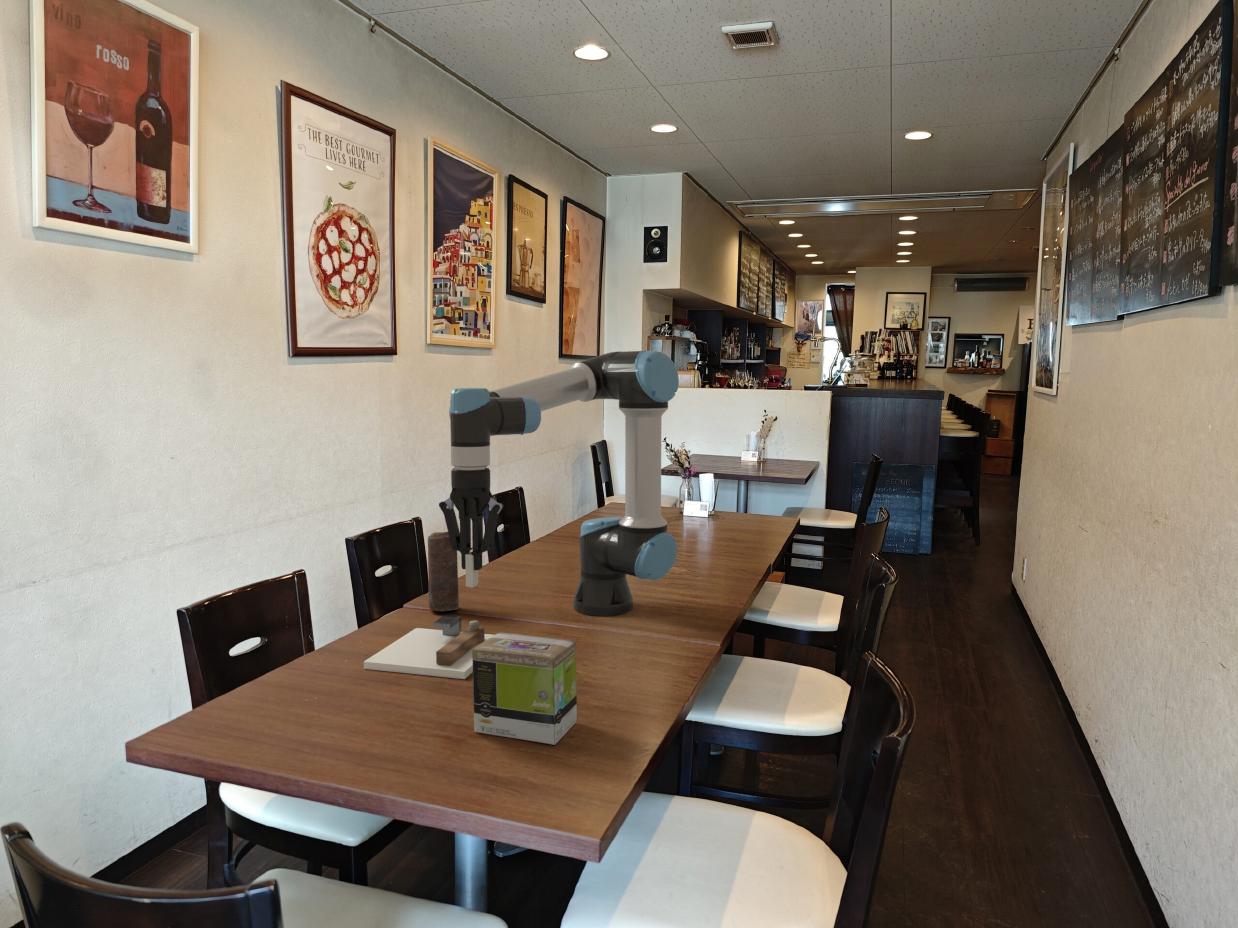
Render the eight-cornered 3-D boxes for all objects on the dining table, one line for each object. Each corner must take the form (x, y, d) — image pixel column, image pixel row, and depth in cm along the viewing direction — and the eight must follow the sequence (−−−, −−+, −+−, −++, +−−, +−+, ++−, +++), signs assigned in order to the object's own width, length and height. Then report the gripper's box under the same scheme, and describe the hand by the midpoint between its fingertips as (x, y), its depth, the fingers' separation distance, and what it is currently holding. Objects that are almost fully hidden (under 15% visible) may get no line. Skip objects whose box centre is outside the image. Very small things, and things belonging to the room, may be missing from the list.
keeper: (461, 634, 177) (461, 616, 177) (450, 642, 172) (449, 624, 171) (445, 633, 178) (444, 614, 178) (433, 641, 173) (432, 622, 172)
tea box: (578, 721, 137) (578, 638, 135) (554, 747, 128) (554, 658, 126) (500, 709, 142) (499, 629, 140) (471, 733, 132) (470, 647, 131)
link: (469, 636, 176) (468, 618, 175) (487, 637, 175) (487, 619, 174) (433, 663, 159) (432, 643, 159) (453, 665, 158) (453, 645, 158)
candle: (451, 616, 195) (449, 536, 193) (423, 614, 197) (421, 535, 195) (463, 607, 203) (462, 530, 201) (436, 605, 204) (434, 529, 202)
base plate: (506, 642, 177) (506, 635, 177) (464, 679, 156) (464, 671, 155) (416, 634, 182) (416, 627, 182) (363, 668, 161) (363, 661, 161)
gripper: (509, 466, 157) (510, 582, 160) (448, 464, 160) (450, 578, 163) (494, 470, 150) (495, 592, 153) (431, 468, 153) (433, 587, 156)
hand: (472, 585), depth 158 cm, fingers closed
